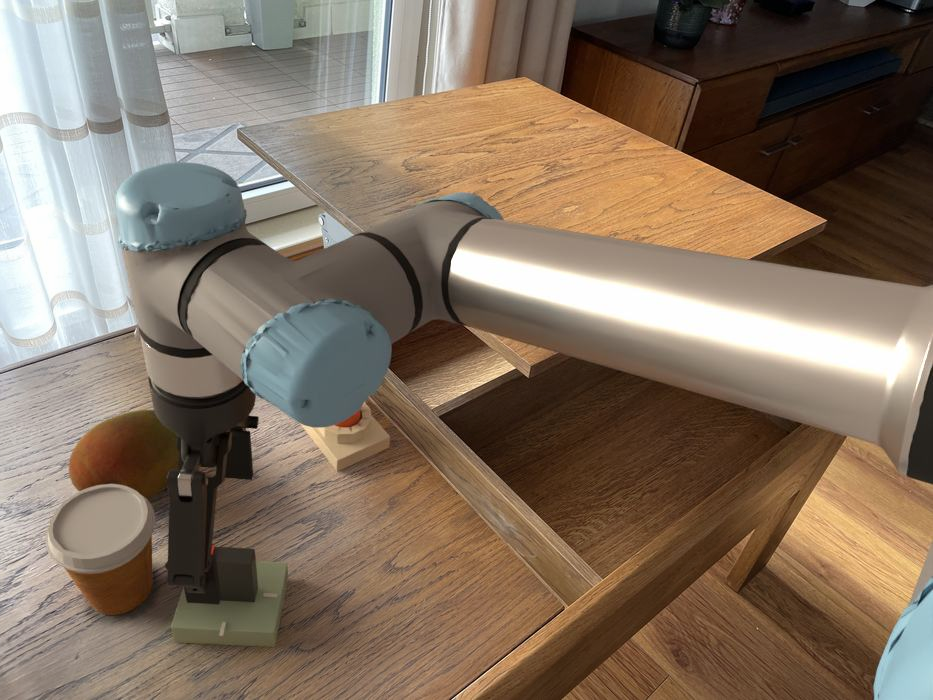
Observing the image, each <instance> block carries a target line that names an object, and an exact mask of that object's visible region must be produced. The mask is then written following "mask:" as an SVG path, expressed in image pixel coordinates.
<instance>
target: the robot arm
mask: <svg viewBox="0 0 933 700" xmlns="http://www.w3.org/2000/svg"><path fill="white" fill-rule="evenodd" d="M115 210H116V216H117V217H116V218H117V223H118V225H117V226H118V231H119V235H118V238H117V244H118V247H119V248H120V249H121V253H122V257H123V261H124V262H123V263H124V267H125V271H126V277H127V280H128V286H129V289H130V290H129V291H130V295H131V298H132V303H133V304H132V305H133V308H134V313H135V318H136V322H137V327H136V328H135V330H134V333H133V335H134V338H135V339H137V340H140V341H141V342H140V343H141V346H142V352H143V357H144V362H145V368H146V372H147V377H148V378H147V379H148V381H147V382H148V386H149V392H150V396H151V402H152V406H153V410H154V411H155V414H156V416H157V418H158V419H159V421H160V422H161V423H162V424H163V425H164V426H166V427H167V428H168V429H170V430H171V431H173V432H174V433H175V434H177V435H178V436H177V449H178V451H179V460H178V470H173V469H171V470H170V471H169V472H168V475H167V487H166V488H167V494H168V533H167V534H168V535H167V537H168V539H167V562H165V563H164V569H165V570H167V575H166V581H167V582H166V584H167V587H177V588H178V587H179V588H183V587H184V591H185V595H186V600H187V603H201V604H218V605H219V603H220V600H221V591H220V585H219V578H218V571H217V564H216V557H215V555H214V554H211V550H212V546H213V539H214V529H215V519H216V508H217V497H218V488H219V487H220V486H221V485H222V484H223V483H224V482H225V479H230V480H244V481H253V477H254V464H253V462H254V461H253V450H252V436H251V430H253V429H254V430H257V429H258V427H259V421H260V420H259V419H260V417H259V416H258V415H250V414H251V413H252V411H253V410H254V407H255V404H256V400H257V399H256V398H257V396H258V398H260V399H263V400H265V401H266V402H268V403H269V404H271V405H273V406H275V407H276V408H277V409H278V410H280V411H282V412H283V413H284V414H285V415H287V416H289V417H290V418H292V419H293V420H294V421H296V422H297V423H298V424H300V423H301V424H303V425H305V426H309V427H315V428H322V427H329V426H333V425H336V424H338V423H341V422H343V421H345V420H346V419H348V418H350V417H351V416H353V415H354V414H355V413H357V412H358V411H359V410H360V409H361V407H362V405H363V403H364V402H365V401H366V400H367V399H368V398H369V397H371V396H375V394H376V392H377V391H378V390H379V388H380V387H381V385H382V384H383V381H384V379H385V377H386V376H387V374H388V371H389V367H390V364H391V360H392V352H393V349H392V345H393V344H394V343H396V342H398V341H399V340H401V339H402V338H404V337H405V336H407V335H409V334H411V333H412V332H414V331H416V330H418V329H419V328H421V327H423V326H424V325H426V324H428V323H429V322H431V321H434V320H441V321H446V322H449V323H451V324H455V325H460V326H461V325H462V326H464V327H467V328H471V329H475V330H478V331H482V332H485V333H488V334H492V335H496V336H499V337H502V338H506V339H509V340H513V341H516V342H520V343H523V344H527V345H530V346H534V347H537V348H540V349H544V350H547V351H551V352H553V353H557V354H560V355H565V356H568V357H572V358H575V359H577V360H582V361H586V362H589V363H593V364H595V365H598V366H599V365H600V366H602V367H606V368H609V369H613V370H615V371H621V372H624V373H627V374H630V375H633V376H638V377H639V378H640V377H641V378H644V379H648V380H651V381H655V382H658V383H662V384H665V385H668V386H673V387H675V388H678V389H682V390H686V391H689V392H693V393H696V394H700V395H703V396H707V397H709V398H713V399H717V400H721V401H724V402H726V403H731V404H734V405H737V406H740V407H744V408H748V409H752V410H755V411H759V412H763V413H765V414H769V415H772V416H776V417H779V418H783V419H786V420H789V421H793V422H797V423H799V424H804V425H807V426H810V427H813V428H817V429H821V430H823V431H828V432H831V433H835V434H838V435H841V436H845V437H849V438H852V439H855V440H859V441H861V442H862V441H863V442H866V443H868V444H873V445H875V446H877V447H878V448H881V449H882V450H883V451H884V453H885V454H886V456H887V457H888V459H889V461H890V462H891V463H892V465H893V466H894V469H896V471H897V472H898V474H899V475H900V476H904V477H906V478H909V479H913V480H916V481H919V482H922V483H925V484H929V485H933V284H930V285H927V286H918V285H913V284H905V283H899V282H892V281H885V280H880V279H875V278H867V277H862V276H855V275H850V274H844V273H843V274H842V273H837V272H832V271H831V272H830V271H824V270H817V269H811V268H806V267H799V266H792V265H786V264H780V263H774V262H766V261H762V260H754V259H748V258H742V257H736V256H730V255H725V254H718V253H710V252H705V251H698V250H694V249H693V250H692V249H687V248H680V247H674V246H673V247H672V246H668V245H667V246H666V245H660V244H654V243H649V242H642V241H637V240H636V241H635V240H630V239H625V238H624V239H623V238H618V237H611V236H604V235H598V234H592V233H587V232H586V233H585V232H581V231H574V230H568V229H567V230H566V229H561V228H554V227H549V226H542V225H535V224H530V223H523V222H517V221H511V220H506V219H504V217H503V216H502V214H501V212H499V210H498V209H497V208H496V207H495V206H494V205H491V204H489V203H488V202H487V201H485V200H484V198H483V197H481V196H480V195H478V194H474V193H471V192H455V193H451V194H448V195H447V194H446V195H444V196H441V197H435V198H430V199H427V200H426V201H424V202H420V203H418V204H417V205H415V206H414V207H412V208H411V209H408V210H407V211H405V212H402V213H400V214H398V215H396V216H393V217H391V218H389V219H387V220H385V221H383V222H381V223H379V224H376V225H374V226H371V227H370V228H367V229H366V230H363V231H361V232H359V233H356V234H353V235H351V236H349V237H348V238H345V239H343V240H341V241H338V242H335V243H333V244H331V245H329V246H326V247H325V248H322V249H320V250H317V251H315V252H313V253H310V254H308V255H306V256H304V257H302V258H300V259H297V260H292V259H289V258H288V257H286V256H284V255H283V254H281V253H280V252H279V251H277V250H275V249H274V248H272V247H271V246H269V245H268V244H267V243H266V242H264V241H263V240H261V239H259V237H256V236H255V235H254V234H252V233H250V231H249V230H248V228H247V227H246V219H247V216H248V215H247V210H246V209H245V205H244V200H243V194H242V190H241V188H240V186H239V185H238V184H237V181H236V180H235V179H234V178H233V176H231V175H230V174H228V173H227V172H225V171H223V170H221V169H218V168H217V167H214V166H210V165H207V164H203V163H197V162H185V161H184V162H183V161H182V162H181V161H179V162H178V161H177V162H166V163H159V164H157V165H153V166H151V167H150V166H149V167H147V168H142V169H140V170H138V171H136V172H134V173H132V174H131V175H130V176H128V177H127V178H125V180H123V182H122V183H121V184H120V186H119V187H118V189H117V192H116V195H115ZM301 424H300V425H301ZM247 429H251V430H247ZM201 468H207V469H213V468H215V474H209V473H206V471H201ZM872 700H933V540H932V541H931V544H930V546H929V549H928V551H927V554H926V556H925V560H924V562H923V565H922V568H921V571H920V573H919V576H918V579H917V580H916V583H915V586H914V589H913V591H912V594H911V597H910V599H909V602H908V605H907V606H906V607H905V608H904V610H903V612H902V613H901V614H900V616H899V618H898V620H897V622H896V624H895V625H894V626H893V629H892V630H891V633H890V636H889V638H888V640H887V643H886V645H885V647H884V650H883V652H882V654H881V658H880V660H879V663H878V666H877V668H876V671H875V677H874V682H873V696H872Z"/></svg>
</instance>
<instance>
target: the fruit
mask: <svg viewBox="0 0 933 700" xmlns="http://www.w3.org/2000/svg"><path fill="white" fill-rule="evenodd" d="M177 436H178V435H177V434H175V433H174V432H173V431H171V430H170V429H168V428H167V427H166V426H164V425H163V424H162V423H161V422H160V421H159V419H158V418H157V416H156V414H155V411H154V409H140V410H139V409H138V410H134V411H129V412H125V413H122V414H119V415H115V416H112V417H110V418H108V419H106V420H103V421H102V422H100V423H98V424H96V425H95V426H94V427H92V428H91V429H90V430H88V431H87V432H86V433H85V434H84V435H83V436H82V437H81V439H80V440H79V441H78V442H77V443H76V444H75V446H74V448H73V450H72V451H71V454H70V457H69V461H68V474H69V479H70V481H71V484H72V485H73V487H74V488H75V489H76V490H77V491H78V492H80V491H82V490H84V489H87V488H90V487H93V486H97V485H104V484H118V485H123V486H127V487H129V488H132V489H134V490H135V491H137V492H138V493H139V494H141V495H142V496H143V497H145V498H146V499H147V500H148V501H149V500H150V499H152V498H154V497H156V496H157V495H159V494H160V493H161V492H163V490H165V489H166V488H168V487H167V475H168V472H169V471H170V470H171V469H173V470H178V460H179V451H178V449H177Z"/></svg>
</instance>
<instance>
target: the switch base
mask: <svg viewBox="0 0 933 700" xmlns="http://www.w3.org/2000/svg"><path fill="white" fill-rule="evenodd" d="M299 425H300V426H301V427H302V428H303V429H304V431H305V432H306V433H307V435H308V436H309V438H310V439H311V440H312V441H313V442H314V444H315V445H316V447H317V448H318V449H319V451H320V452H321V453H322V454H323V456H325V459H326V460H327V461H328V462H329V464H330V465H331V466H332V467H333V468H334V470H335V471H336V472H339V471H342V470H344V469H346V468H348V467H351V466H353V465H355V464H357V463H359V462H361V461H363V460H365V459H367V458H369V457H372V456H374V455H376V454H378V453H380V452H382V451H384V450H387V449H389V448H390V444H391V443H390V441H391V435H390V434H388V432H387V431H386V430H385V429H384V427H383V426H382V425H381V424H380V423H379V422H378V420H376V419H375V417H374V416H373V414H372V409H371V408H370V406H368V404H367V403H366V402H365V401H364V403H363V405H362V407H361V410H360V420H359V421H358V423H357V424H355V425H354V426H351V427H338V426H336V425H333V426H329V427H322V428H315V427H309V426H305V425H303V424H301V423H299Z"/></svg>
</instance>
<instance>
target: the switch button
mask: <svg viewBox="0 0 933 700" xmlns="http://www.w3.org/2000/svg"><path fill="white" fill-rule="evenodd" d="M360 410H361V409H360ZM360 410H359V411H358V412H357V413H355V414H354V415H353V416H351V417H350V418H348V419H346V420H345V421H343V422H341V423H338V424H336V426H338V427H351V426H354V425H355V424H357V423H358V421H359V420H360Z"/></svg>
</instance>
